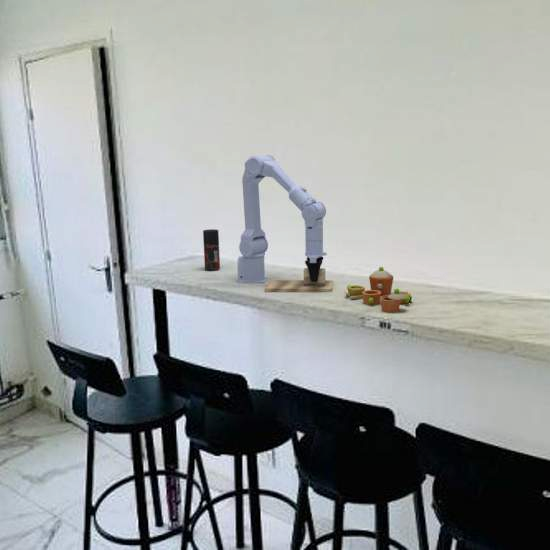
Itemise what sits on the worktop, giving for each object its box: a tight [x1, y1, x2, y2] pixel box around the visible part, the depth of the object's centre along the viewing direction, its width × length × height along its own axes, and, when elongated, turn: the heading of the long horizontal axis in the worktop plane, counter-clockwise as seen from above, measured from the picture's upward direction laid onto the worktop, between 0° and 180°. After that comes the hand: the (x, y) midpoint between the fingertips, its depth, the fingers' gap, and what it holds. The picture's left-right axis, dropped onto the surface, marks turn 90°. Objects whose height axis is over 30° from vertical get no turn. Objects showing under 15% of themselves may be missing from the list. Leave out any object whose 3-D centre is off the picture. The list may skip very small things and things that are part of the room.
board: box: [264, 279, 334, 293], centre depth 201 cm, size 22×12×1 cm, turn 83°
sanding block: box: [303, 267, 326, 286], centre depth 200 cm, size 7×4×5 cm, turn 83°
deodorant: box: [202, 228, 221, 271], centre depth 235 cm, size 6×6×15 cm
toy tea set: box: [344, 266, 414, 313], centre depth 180 cm, size 26×16×10 cm, turn 23°
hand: (314, 280), depth 200 cm, fingers closed on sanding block, 4 cm apart
